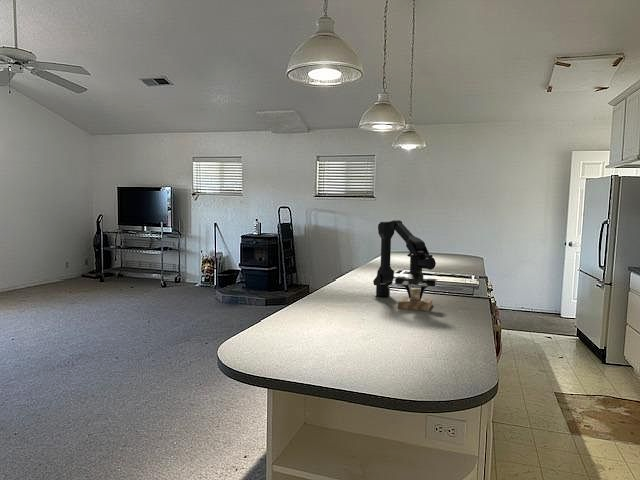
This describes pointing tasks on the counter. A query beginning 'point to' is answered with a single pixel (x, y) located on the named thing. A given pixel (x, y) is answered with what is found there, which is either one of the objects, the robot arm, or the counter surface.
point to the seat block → (415, 304)
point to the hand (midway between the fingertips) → (415, 299)
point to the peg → (415, 294)
